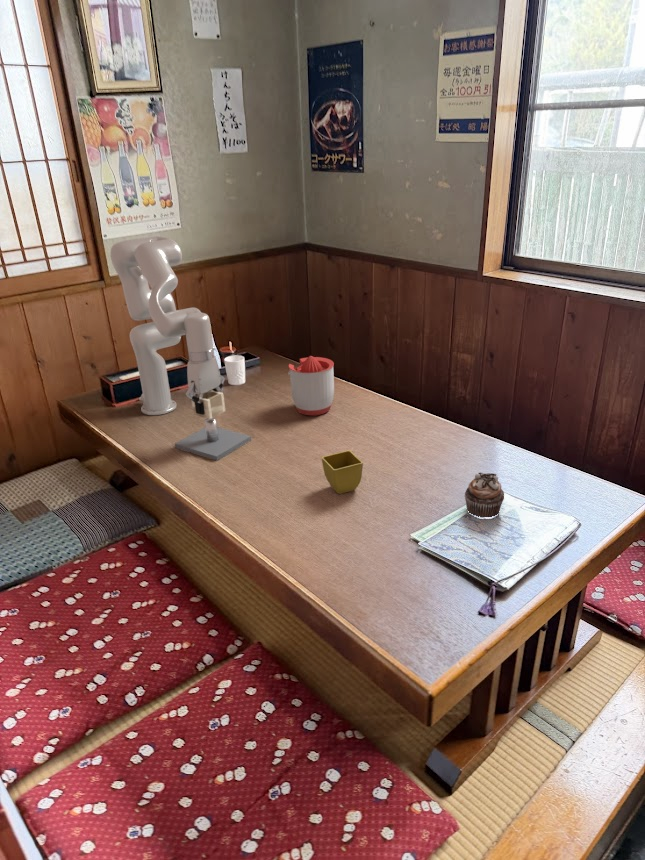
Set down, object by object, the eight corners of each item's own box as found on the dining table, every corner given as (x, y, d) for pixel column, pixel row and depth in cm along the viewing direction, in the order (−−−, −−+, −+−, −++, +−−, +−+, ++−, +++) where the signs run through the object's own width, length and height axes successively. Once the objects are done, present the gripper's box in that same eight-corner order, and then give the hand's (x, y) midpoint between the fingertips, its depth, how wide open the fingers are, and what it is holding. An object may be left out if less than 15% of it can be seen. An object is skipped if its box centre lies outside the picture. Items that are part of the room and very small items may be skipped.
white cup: (245, 385, 249) (242, 361, 245) (225, 386, 249) (222, 362, 245) (248, 378, 256) (245, 354, 252) (228, 379, 256) (225, 355, 252)
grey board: (175, 447, 202) (174, 443, 201) (210, 428, 214) (209, 424, 213) (217, 460, 192) (216, 456, 192) (251, 440, 204) (250, 436, 204)
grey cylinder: (204, 440, 202) (202, 420, 199) (212, 436, 205) (209, 416, 202) (213, 443, 200) (210, 423, 197) (220, 438, 203) (218, 418, 200)
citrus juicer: (305, 397, 235) (302, 345, 227) (344, 406, 226) (342, 352, 217) (278, 412, 224) (274, 358, 215) (318, 422, 214) (315, 366, 206)
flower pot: (322, 485, 176) (320, 456, 173) (350, 477, 179) (349, 449, 176) (335, 499, 169) (333, 470, 165) (364, 491, 172) (363, 462, 168)
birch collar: (193, 414, 197) (190, 396, 195) (209, 406, 203) (206, 389, 200) (210, 418, 194) (207, 400, 191) (225, 410, 199) (223, 392, 196)
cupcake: (460, 501, 165) (462, 468, 161) (498, 500, 165) (501, 467, 161) (467, 522, 157) (469, 487, 152) (506, 521, 156) (510, 486, 152)
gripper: (212, 345, 199) (219, 397, 206) (171, 361, 186) (180, 417, 193) (230, 348, 195) (236, 401, 202) (189, 365, 182) (198, 421, 189)
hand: (209, 408), depth 198 cm, fingers closed on birch collar, 7 cm apart
